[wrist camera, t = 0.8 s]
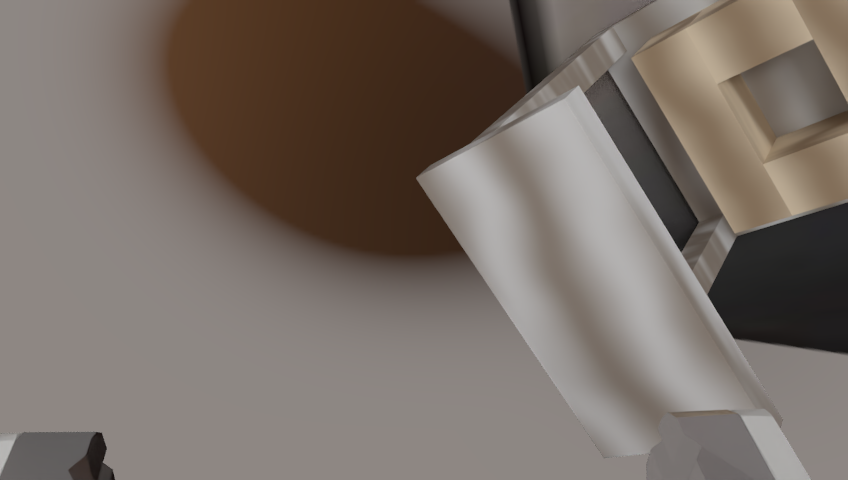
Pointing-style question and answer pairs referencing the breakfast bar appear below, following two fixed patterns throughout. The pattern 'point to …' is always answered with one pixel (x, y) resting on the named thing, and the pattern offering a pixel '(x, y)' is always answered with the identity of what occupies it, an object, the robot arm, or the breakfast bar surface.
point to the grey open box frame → (632, 211)
